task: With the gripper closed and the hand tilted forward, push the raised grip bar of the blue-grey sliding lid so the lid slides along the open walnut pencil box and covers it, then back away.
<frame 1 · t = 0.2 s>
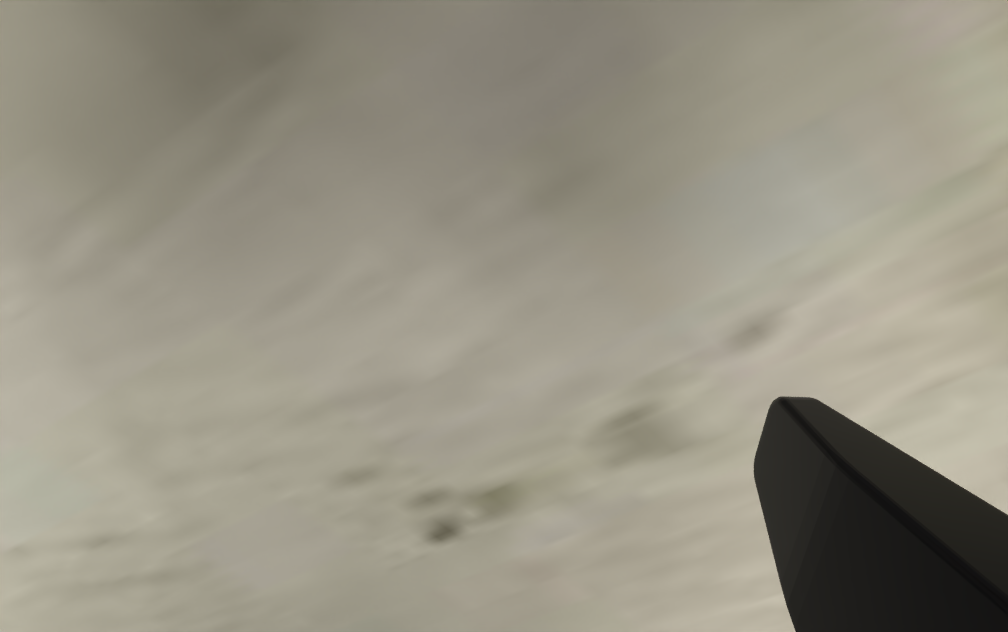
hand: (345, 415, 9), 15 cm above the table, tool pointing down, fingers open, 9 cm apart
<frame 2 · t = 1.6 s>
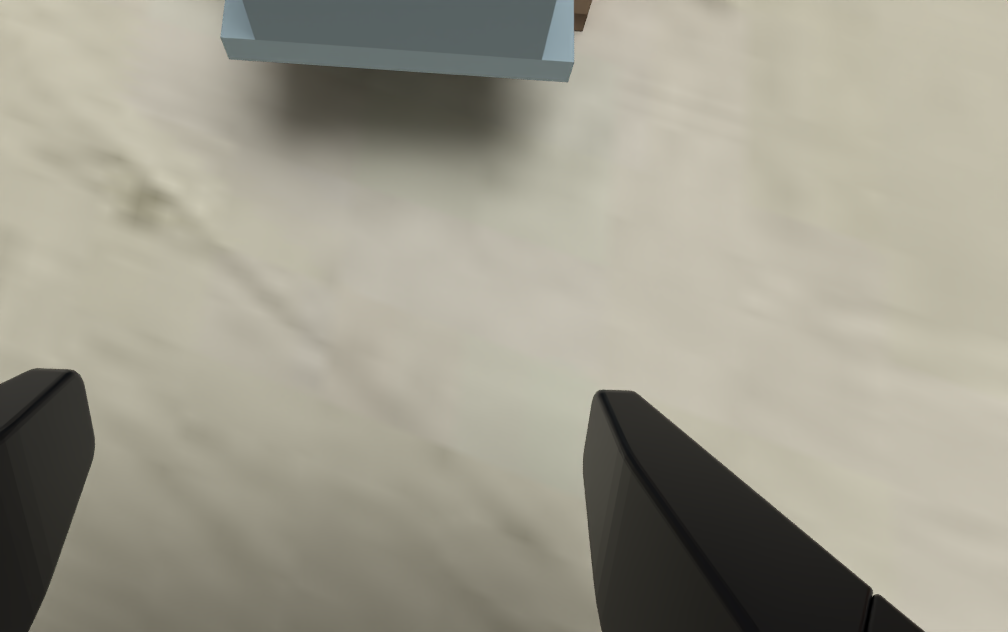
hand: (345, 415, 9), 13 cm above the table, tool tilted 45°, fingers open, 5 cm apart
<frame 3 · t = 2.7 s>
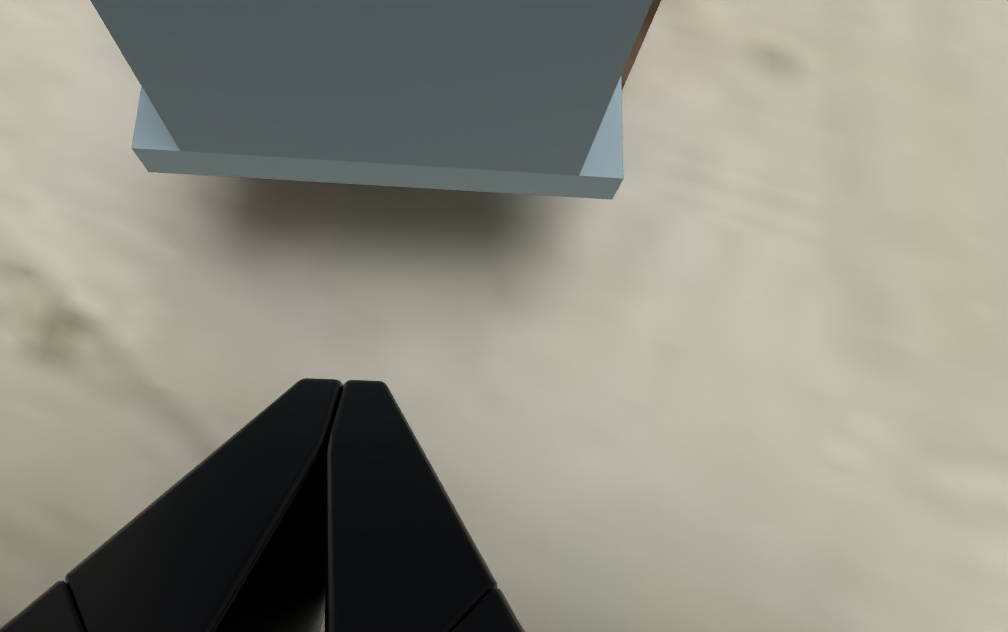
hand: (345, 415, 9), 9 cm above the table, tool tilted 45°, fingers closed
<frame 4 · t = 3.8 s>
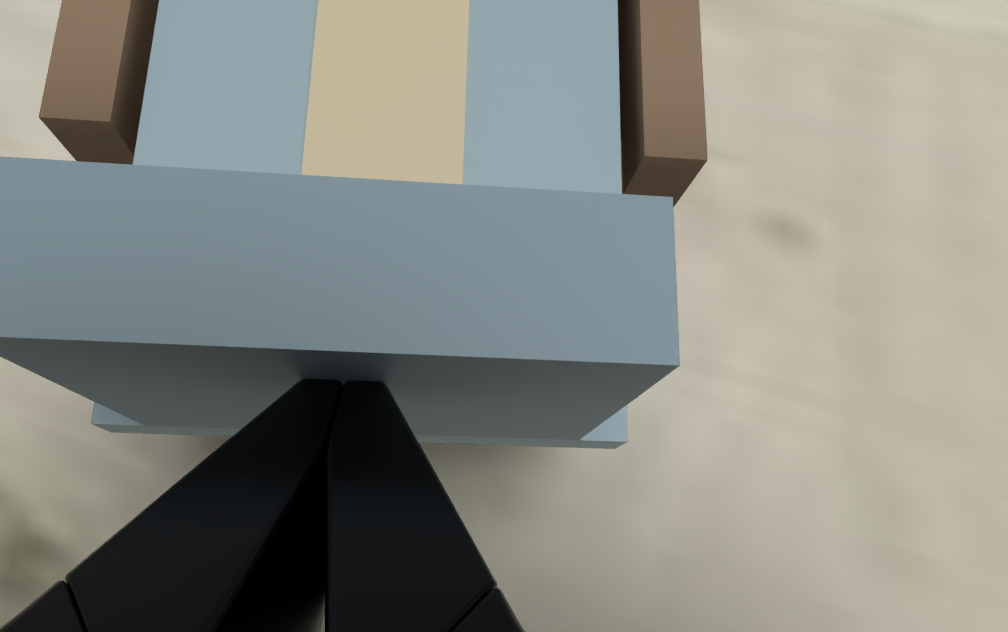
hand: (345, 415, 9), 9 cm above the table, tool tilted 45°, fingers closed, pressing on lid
pencil box: (410, 35, 20), on the table
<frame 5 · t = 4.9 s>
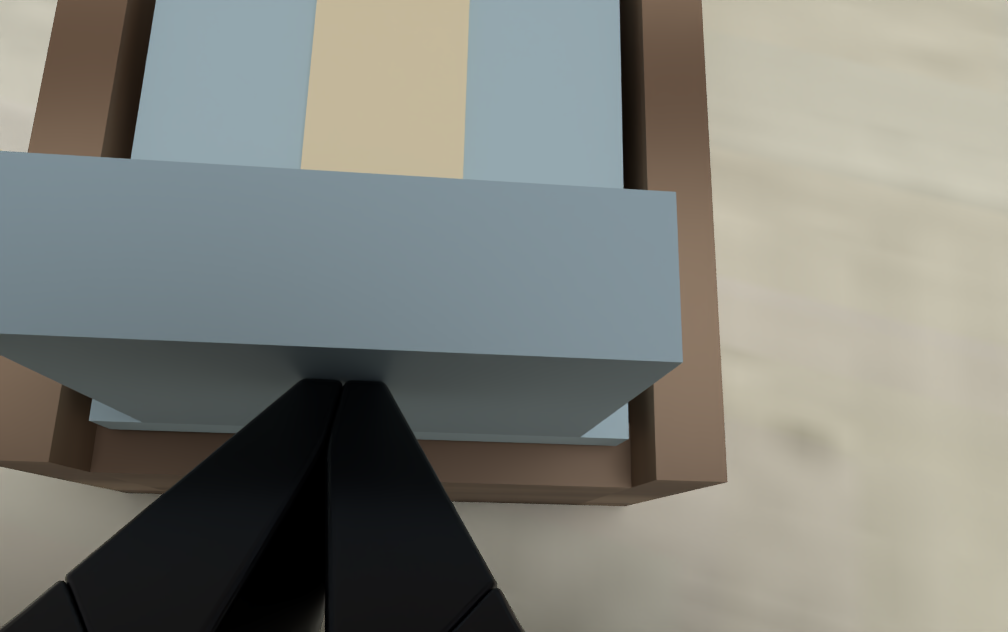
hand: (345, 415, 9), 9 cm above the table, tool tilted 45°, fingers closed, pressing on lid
pencil box: (398, 223, 18), on the table
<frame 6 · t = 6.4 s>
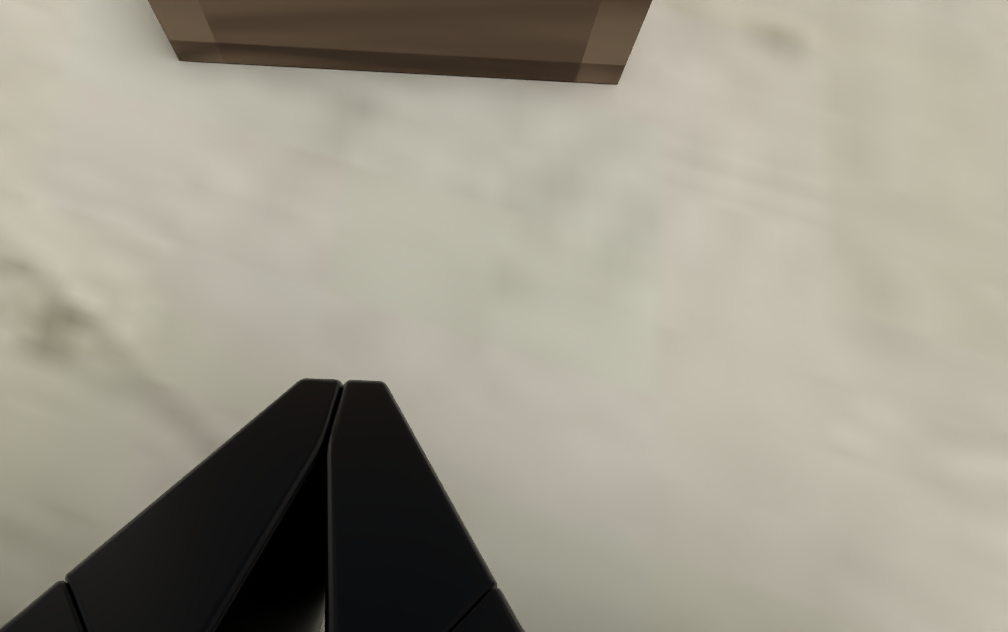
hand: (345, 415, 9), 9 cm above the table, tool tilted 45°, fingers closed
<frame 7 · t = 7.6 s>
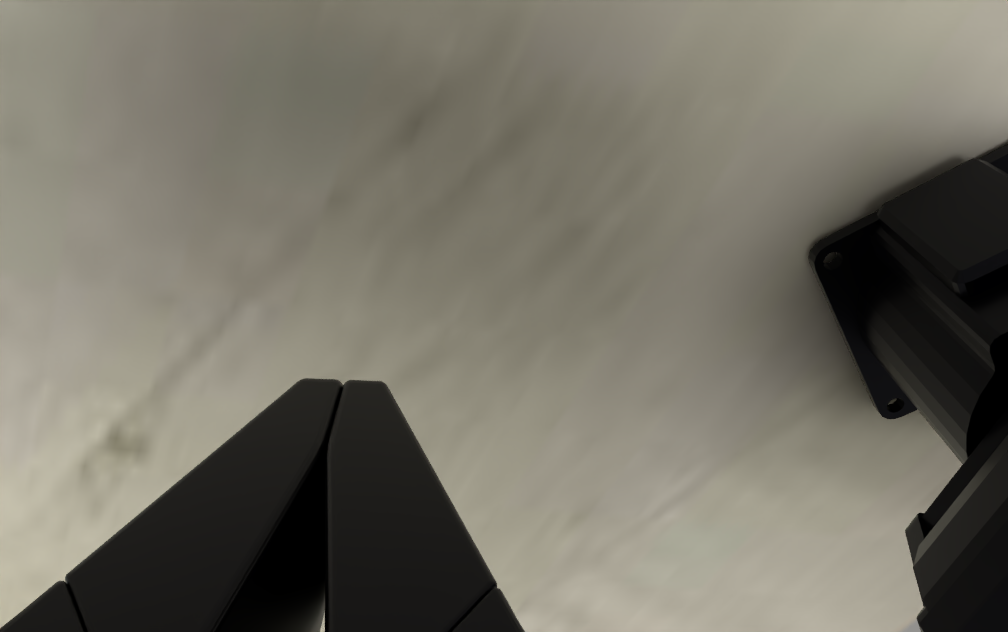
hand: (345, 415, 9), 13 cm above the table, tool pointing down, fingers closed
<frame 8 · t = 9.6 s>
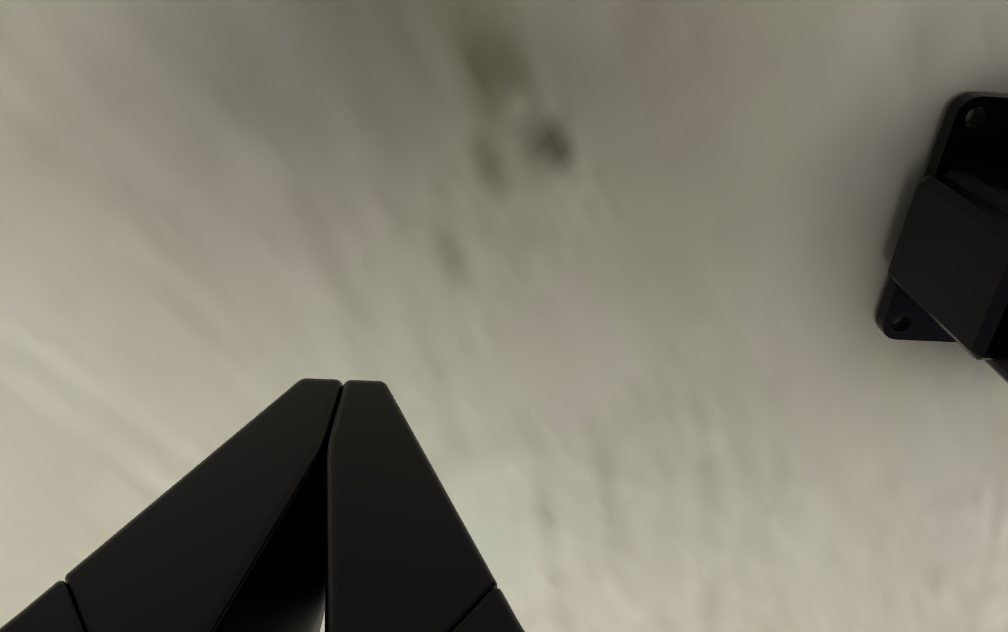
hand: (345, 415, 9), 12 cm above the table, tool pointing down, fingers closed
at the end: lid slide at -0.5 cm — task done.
